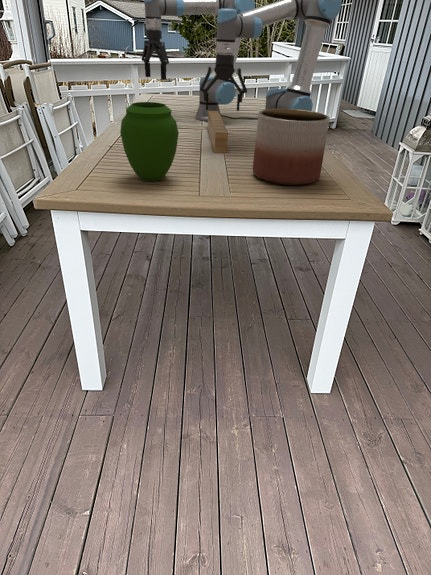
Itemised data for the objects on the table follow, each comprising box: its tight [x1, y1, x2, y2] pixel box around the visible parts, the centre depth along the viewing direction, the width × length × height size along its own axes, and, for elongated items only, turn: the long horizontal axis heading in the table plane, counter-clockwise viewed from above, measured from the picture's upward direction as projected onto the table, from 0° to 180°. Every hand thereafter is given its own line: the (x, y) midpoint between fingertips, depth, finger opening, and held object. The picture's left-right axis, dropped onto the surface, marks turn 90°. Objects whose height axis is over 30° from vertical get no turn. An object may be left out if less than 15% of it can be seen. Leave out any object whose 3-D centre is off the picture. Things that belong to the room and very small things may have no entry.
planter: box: [252, 109, 331, 186], centre depth 150 cm, size 25×25×22 cm
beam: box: [207, 111, 229, 154], centre depth 203 cm, size 54×6×9 cm, turn 4°
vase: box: [119, 101, 179, 182], centre depth 140 cm, size 20×20×24 cm
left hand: (155, 78), depth 210 cm, fingers open, 13 cm apart
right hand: (222, 109), depth 179 cm, fingers open, 13 cm apart
